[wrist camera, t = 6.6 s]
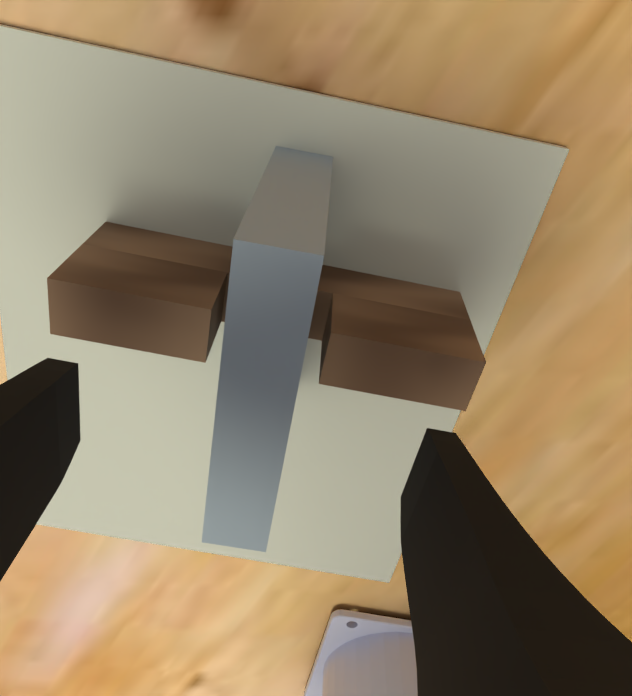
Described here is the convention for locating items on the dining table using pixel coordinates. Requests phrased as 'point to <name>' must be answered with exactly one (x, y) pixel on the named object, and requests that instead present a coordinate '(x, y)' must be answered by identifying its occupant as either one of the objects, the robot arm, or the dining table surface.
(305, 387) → the felt mat
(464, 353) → the walnut slotted plate
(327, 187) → the grey flat block
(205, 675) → the dining table surface
